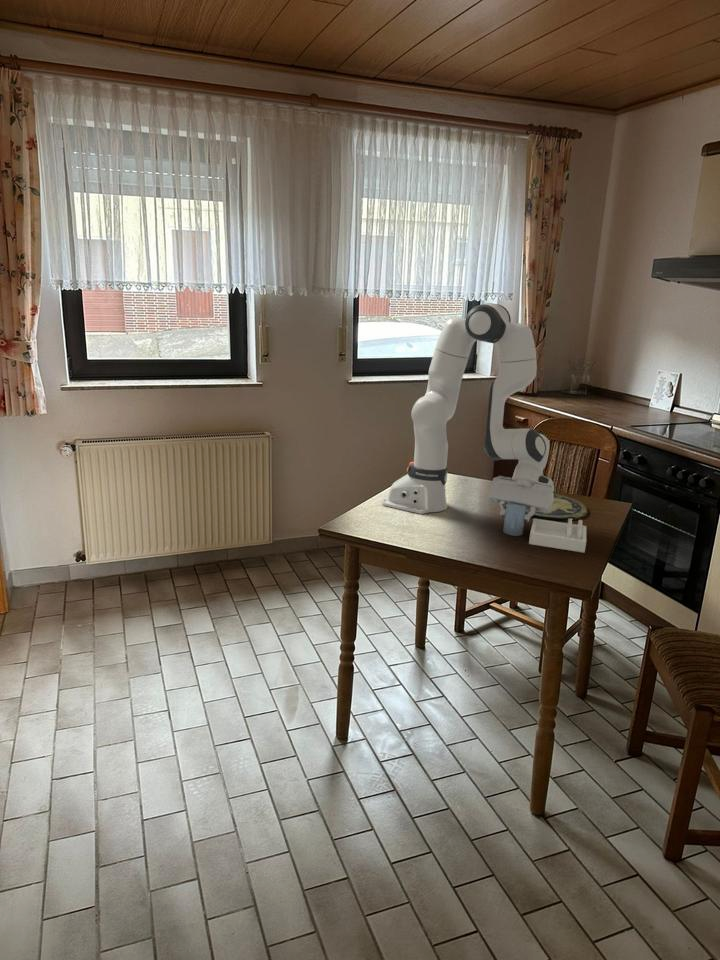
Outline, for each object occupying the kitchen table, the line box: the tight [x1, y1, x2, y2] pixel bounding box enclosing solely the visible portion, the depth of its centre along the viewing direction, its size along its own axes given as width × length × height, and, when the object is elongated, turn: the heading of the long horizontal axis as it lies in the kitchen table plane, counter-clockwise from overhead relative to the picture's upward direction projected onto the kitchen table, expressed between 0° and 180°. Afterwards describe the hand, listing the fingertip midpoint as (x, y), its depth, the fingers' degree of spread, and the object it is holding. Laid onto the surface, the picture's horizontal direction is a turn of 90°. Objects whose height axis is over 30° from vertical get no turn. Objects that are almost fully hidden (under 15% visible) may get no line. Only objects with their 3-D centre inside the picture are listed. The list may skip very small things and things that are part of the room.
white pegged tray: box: [528, 518, 587, 553], centre depth 204 cm, size 16×14×6 cm
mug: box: [502, 502, 526, 537], centre depth 208 cm, size 6×8×9 cm
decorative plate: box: [503, 492, 588, 522], centre depth 236 cm, size 30×2×30 cm
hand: (514, 518), depth 208 cm, fingers closed on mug, 6 cm apart
